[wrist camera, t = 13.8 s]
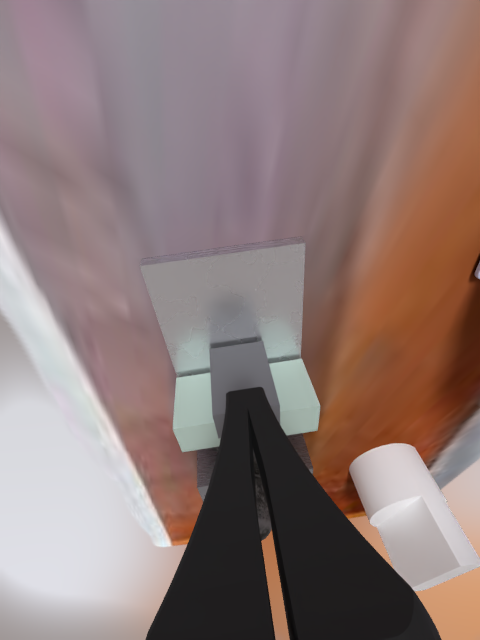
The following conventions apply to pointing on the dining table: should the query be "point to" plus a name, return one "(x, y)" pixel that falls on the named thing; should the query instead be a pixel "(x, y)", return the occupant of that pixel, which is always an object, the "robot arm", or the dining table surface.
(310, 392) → the vise jaw
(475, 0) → the dining table surface
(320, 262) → the dining table surface
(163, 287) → the plate
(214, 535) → the robot arm
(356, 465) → the cylinder with rectangular tab
